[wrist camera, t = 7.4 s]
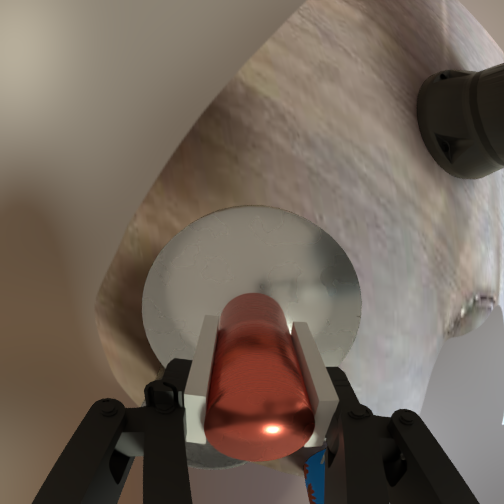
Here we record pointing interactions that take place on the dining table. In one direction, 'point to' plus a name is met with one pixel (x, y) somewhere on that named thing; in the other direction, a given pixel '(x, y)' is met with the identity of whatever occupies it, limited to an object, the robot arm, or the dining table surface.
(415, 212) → the dining table surface
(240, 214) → the lid
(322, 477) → the thermos
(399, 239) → the dining table surface
